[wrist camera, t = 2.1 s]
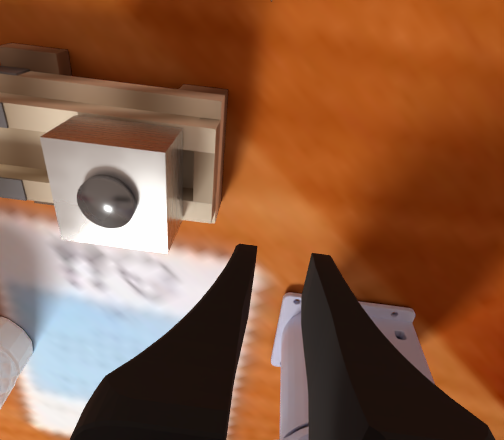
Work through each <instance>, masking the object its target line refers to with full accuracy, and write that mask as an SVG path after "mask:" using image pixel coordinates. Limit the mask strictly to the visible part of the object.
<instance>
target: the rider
mask: <svg viewBox="0 0 504 440" xmlns="http://www.w3.org/2000/svg"><path fill="white" fill-rule="evenodd" d="M40 141H41V145H42V150H43V155H44V159H45V164H46V169H47V174H48V178H49V183H50V188H51V192H52V197H53V202H54V206H55V211H56V216H57V221H58V225H59V230H60V235H61V239H62V240H68V241H75V242H83V243H91V244H98V245H106V246H114V247H121V248H129V249H137V250H144V251H152V252H160V253H167V254H168V252H169V250H170V247H171V245H172V243H173V241H174V238H175V236H176V234H177V232H178V229H179V227H180V225H181V223H182V220H183V128H179V127H171V126H163V125H155V124H147V123H139V122H131V121H123V120H115V119H107V118H99V117H91V116H84V115H74V116H73V117H71V118H70V119H68V120H66V121H65V122H63V123H61V124H60V125H58V126H57V127H55V128H53V129H52V130H50V131H49V132H47V133H45V134H44V135H42V136H40Z"/></svg>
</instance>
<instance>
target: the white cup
mask: <svg viewBox="0 0 504 440" xmlns="http://www.w3.org/2000/svg"><path fill="white" fill-rule="evenodd" d="M32 354H33V346H32V341H31V339H30V338H29V337H28V335H27V334H26V333H25V331H24V330H23V329H22V328H20V327H19V326H18V325H16V324H15V323H13V322H12V321H10V320H9V319H7V318H4V317H1V316H0V409H1V408H2V406H3V404H4V403H5V401H6V399H7V397H8V396H9V394H10V392H11V390H12V389H13V387H14V385H15V382H16V380H17V378H18V377H19V375H20V373H21V371H22V370H23V368H24V367H25V365H26V364H27V362H28V360H29V359H30V357H31V356H32Z"/></svg>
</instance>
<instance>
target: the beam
mask: <svg viewBox="0 0 504 440" xmlns="http://www.w3.org/2000/svg"><path fill="white" fill-rule="evenodd" d="M0 63H1V66H0V197H2V198H10V199H17V200H25V201H26V200H33V201H34V202H35V203H40V204H48V205H54V202H53V197H52V192H51V188H50V183H49V178H48V174H47V169H46V164H45V159H44V155H43V150H42V145H41V141H40V136H42V135H44V134H45V133H47V132H49V131H50V130H52V129H53V128H55V127H57V126H58V125H60V124H61V123H63V122H65V121H66V120H68V119H70V118H71V117H73V116H74V115H84V116H91V117H99V118H107V119H115V120H123V121H131V122H139V123H147V124H155V125H163V126H171V127H179V128H183V220H188V221H196V222H204V223H215V221H216V218H217V214H218V211H219V208H220V204H221V194H222V179H223V164H224V148H225V133H226V117H227V102H228V89H220V88H211V87H203V86H195V85H187V84H183V85H182V86H181V87H180V88H179V89H171V88H163V87H155V86H147V85H139V84H131V83H123V82H115V81H107V80H99V79H91V78H83V77H74V76H72V73H71V67H70V60H69V53H68V50H65V49H57V48H49V47H41V46H32V45H24V44H16V43H9V44H4V45H0Z"/></svg>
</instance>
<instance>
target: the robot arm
mask: <svg viewBox="0 0 504 440" xmlns="http://www.w3.org/2000/svg"><path fill="white" fill-rule="evenodd" d="M256 254H257V246H253V245H245V244H238V245H237V246H236V247H235V250H234V252H233V254H232V256H231V258H230V260H229V262H228V263H227V265H226V267H225V268H224V270H223V271H222V273H221V274H220V275H219V277H218V278H217V280H216V281H215V283H214V284H213V285H212V286H211V288H210V289H209V290H208V291H207V293H206V294H205V295H204V296H203V297H202V299H201V300H200V301H199V302H198V303H197V304H196V305H195V306H194V307H193V309H192V310H191V311H190V312H189V313H188V314H187V315H186V316H185V317H184V318H183V319H182V320H180V321H179V322H178V323H177V324H176V325H175V326H174V327H173V328H172V329H171V330H169V331H168V332H167V333H166V334H165V335H164V336H162V337H161V338H160V339H158V340H157V341H156V342H155V343H153V344H152V345H151V346H149V347H148V348H147V349H145V350H144V351H143V352H141V353H140V354H139V355H137V356H136V357H134V358H133V359H131V360H130V361H128V362H127V363H125V364H123V365H122V366H120V367H119V368H117V369H116V370H114V371H112V372H111V373H109V374H108V375H106V376H105V377H104V378H103V380H102V381H101V383H100V384H99V386H98V387H97V388H96V390H95V391H94V393H93V395H92V396H91V398H90V399H89V401H88V403H87V404H86V406H85V408H84V410H83V412H82V414H81V416H80V418H79V421H78V423H77V425H76V427H75V429H74V431H73V434H72V436H71V438H70V440H226V437H227V430H228V422H229V414H230V407H231V399H232V391H233V385H234V379H235V374H236V369H237V365H238V360H239V356H240V351H241V347H242V342H243V338H244V333H245V329H246V324H247V320H248V314H249V307H250V300H251V292H252V285H253V278H254V270H255V263H256ZM295 299H299V300H298V301H296V300H295ZM393 312H395V313H393ZM414 318H415V312H414V310H413V309H411V308H406V307H398V306H391V305H383V304H376V303H368V302H360V301H358V300H357V299H356V297H355V296H354V294H353V293H352V291H351V290H350V288H349V286H348V285H347V283H346V282H345V280H344V278H343V277H342V275H341V273H340V272H339V270H338V268H337V266H336V264H335V263H334V261H333V259H332V258H331V256H330V255H324V254H316V253H312V254H311V258H310V263H309V267H308V271H307V275H306V280H305V284H304V288H303V292H302V294H299V293H292V292H288V293H286V294H285V295H284V296H283V301H282V306H281V311H280V316H279V321H278V326H277V331H276V336H275V341H274V346H273V351H272V356H271V364H272V365H274V366H278V367H281V392H280V439H279V440H495V438H494V436H493V435H492V433H491V431H490V429H489V427H488V425H486V424H485V423H484V422H482V421H481V420H480V419H478V418H477V417H476V416H474V415H473V414H472V413H470V412H469V411H468V410H466V409H465V408H464V407H462V406H461V405H460V404H458V403H457V402H455V401H454V400H453V399H452V398H450V397H449V396H448V395H447V394H445V393H444V392H443V391H442V390H441V389H439V388H438V387H437V386H436V385H435V383H434V381H433V378H432V375H431V372H430V370H429V367H428V364H427V362H426V359H425V356H424V353H423V351H422V348H421V345H420V342H419V340H418V337H417V334H416V332H415V329H414V326H413V323H412V322H413V320H414Z"/></svg>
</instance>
